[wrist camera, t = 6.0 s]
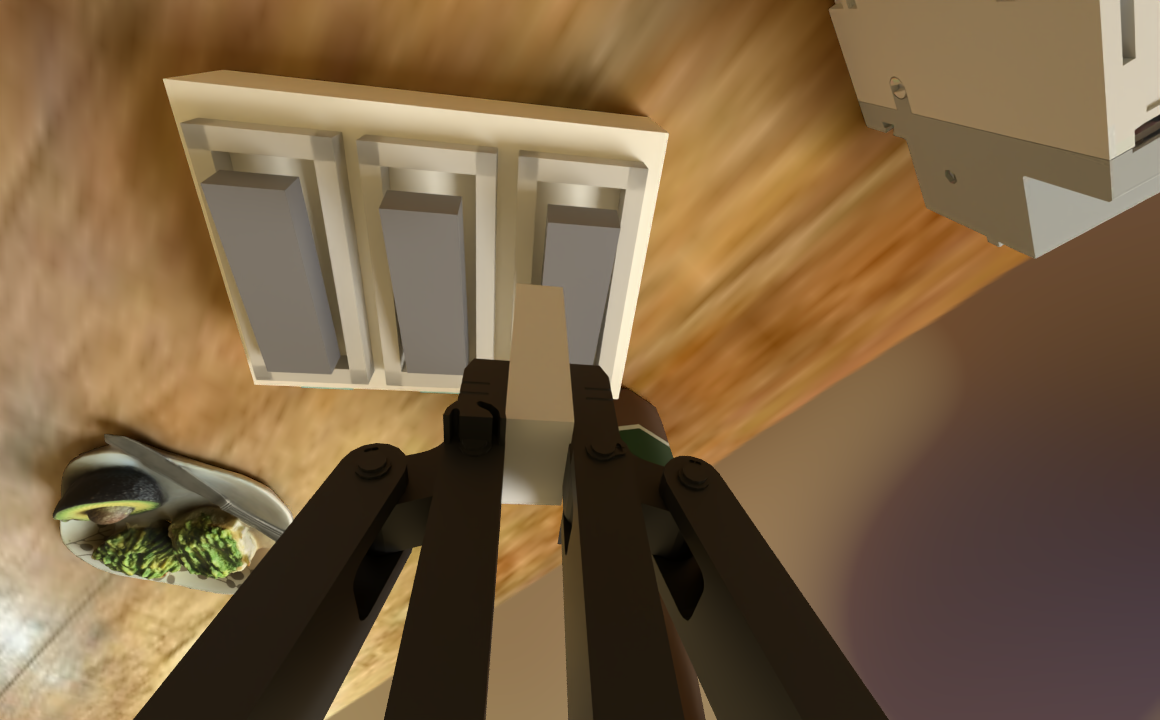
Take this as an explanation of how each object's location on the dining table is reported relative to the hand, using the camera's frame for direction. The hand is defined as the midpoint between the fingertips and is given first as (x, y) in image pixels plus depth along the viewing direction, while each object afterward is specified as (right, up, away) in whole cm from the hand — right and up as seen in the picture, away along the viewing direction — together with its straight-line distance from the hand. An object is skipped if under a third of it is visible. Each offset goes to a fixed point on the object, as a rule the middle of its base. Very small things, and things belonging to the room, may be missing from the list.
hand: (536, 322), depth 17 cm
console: (-6, +6, +14) cm, 17 cm away
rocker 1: (-13, +3, +8) cm, 15 cm away
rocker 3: (+1, +2, +10) cm, 10 cm away
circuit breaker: (+21, +15, +11) cm, 28 cm away
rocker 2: (-6, +3, +9) cm, 11 cm away
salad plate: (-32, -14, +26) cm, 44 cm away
